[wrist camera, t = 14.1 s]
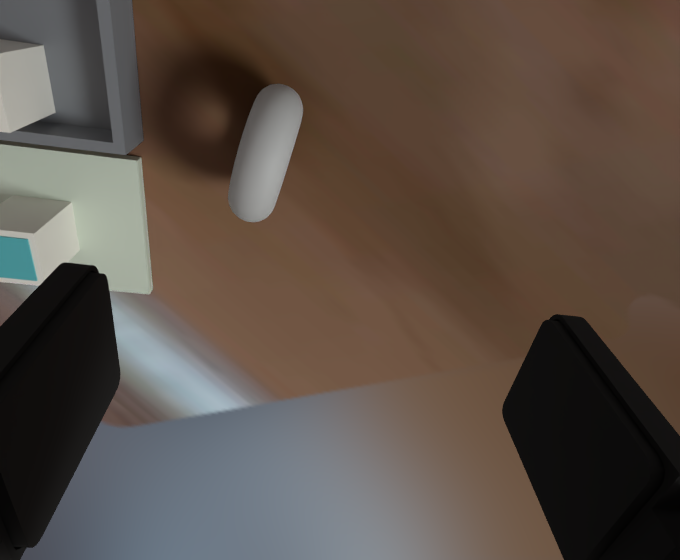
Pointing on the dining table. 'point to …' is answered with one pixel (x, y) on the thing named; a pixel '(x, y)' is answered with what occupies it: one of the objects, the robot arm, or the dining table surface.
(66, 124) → the parts bin
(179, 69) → the dining table surface
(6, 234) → the teal label box
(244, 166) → the donut
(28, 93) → the grey label box
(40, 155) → the sage board
